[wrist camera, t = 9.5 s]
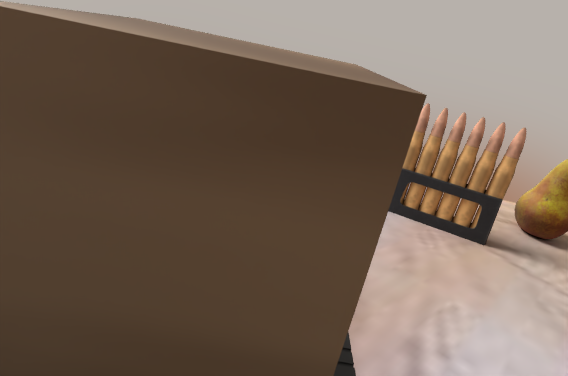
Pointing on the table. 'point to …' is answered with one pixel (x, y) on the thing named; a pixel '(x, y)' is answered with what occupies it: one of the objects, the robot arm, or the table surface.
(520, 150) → the ammunition clip
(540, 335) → the table surface
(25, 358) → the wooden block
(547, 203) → the fruit
